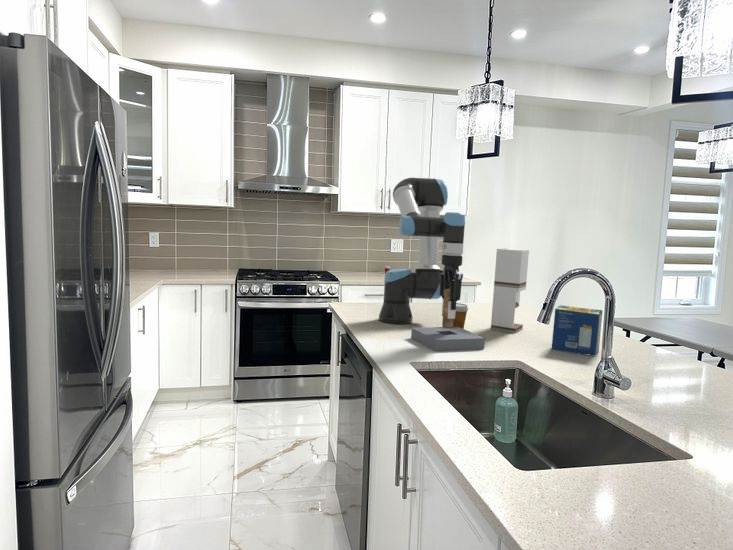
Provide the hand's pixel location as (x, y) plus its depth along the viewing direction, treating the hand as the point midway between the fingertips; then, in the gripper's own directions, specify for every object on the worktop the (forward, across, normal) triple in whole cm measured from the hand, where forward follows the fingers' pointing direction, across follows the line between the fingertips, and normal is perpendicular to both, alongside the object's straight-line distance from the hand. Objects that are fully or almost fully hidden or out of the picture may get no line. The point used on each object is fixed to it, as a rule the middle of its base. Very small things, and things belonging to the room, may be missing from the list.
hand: (448, 317), depth 192 cm
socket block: (+10, 0, 0) cm, 10 cm away
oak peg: (+4, 0, 0) cm, 4 cm away
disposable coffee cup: (+10, -15, +12) cm, 22 cm away
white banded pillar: (+10, -19, +40) cm, 45 cm away
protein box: (+10, +17, +45) cm, 49 cm away
